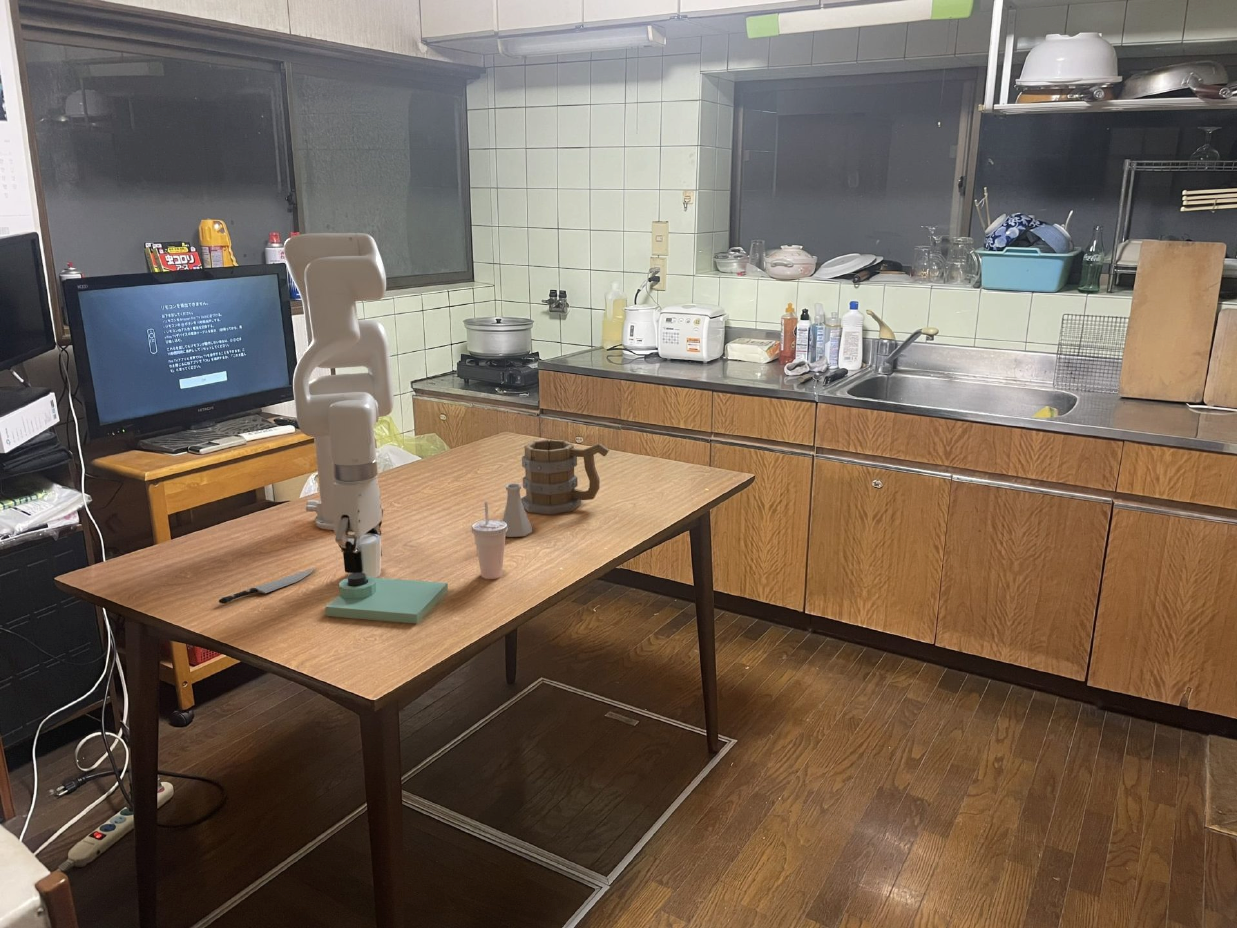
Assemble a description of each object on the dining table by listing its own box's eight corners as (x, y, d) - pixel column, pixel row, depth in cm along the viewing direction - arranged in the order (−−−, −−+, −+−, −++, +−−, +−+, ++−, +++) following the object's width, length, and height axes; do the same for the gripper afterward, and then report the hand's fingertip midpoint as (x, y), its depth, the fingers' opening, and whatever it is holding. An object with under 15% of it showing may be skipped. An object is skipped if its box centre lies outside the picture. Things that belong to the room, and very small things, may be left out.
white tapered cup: (345, 584, 163) (341, 547, 161) (345, 570, 169) (342, 534, 167) (384, 579, 164) (381, 543, 163) (383, 566, 171) (380, 530, 169)
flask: (527, 539, 184) (525, 491, 181) (492, 537, 185) (490, 490, 183) (537, 527, 191) (535, 481, 188) (504, 525, 192) (502, 479, 190)
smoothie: (492, 566, 170) (489, 494, 166) (516, 574, 166) (513, 501, 163) (466, 576, 165) (462, 503, 162) (490, 585, 162) (487, 510, 158)
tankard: (513, 511, 201) (510, 445, 197) (536, 494, 213) (534, 432, 209) (598, 520, 195) (597, 452, 191) (617, 502, 207) (616, 438, 203)
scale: (323, 615, 150) (321, 596, 149) (361, 585, 162) (359, 566, 161) (417, 623, 147) (415, 603, 146) (448, 591, 159) (446, 573, 158)
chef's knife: (323, 574, 167) (313, 569, 169) (323, 568, 167) (313, 564, 169) (227, 609, 153) (217, 604, 154) (226, 603, 152) (216, 598, 154)
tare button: (345, 587, 154) (344, 578, 153) (353, 580, 156) (352, 571, 156) (361, 588, 153) (360, 579, 152) (369, 581, 156) (369, 572, 155)
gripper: (359, 457, 170) (367, 546, 175) (310, 483, 154) (320, 581, 159) (396, 458, 169) (403, 549, 174) (351, 485, 152) (360, 584, 157)
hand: (363, 563), depth 166 cm, fingers closed on white tapered cup, 6 cm apart
